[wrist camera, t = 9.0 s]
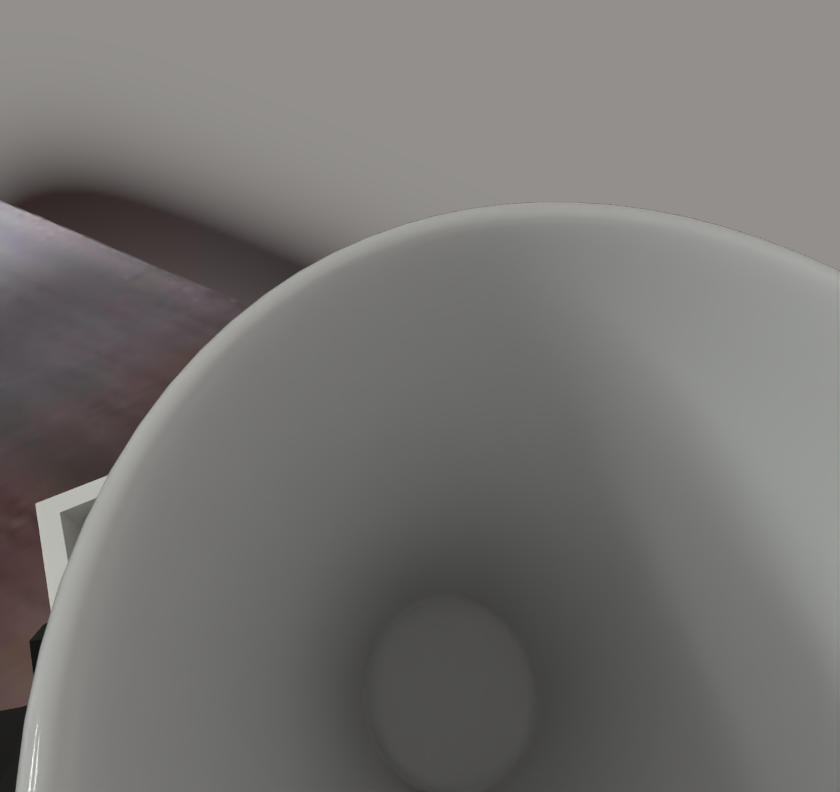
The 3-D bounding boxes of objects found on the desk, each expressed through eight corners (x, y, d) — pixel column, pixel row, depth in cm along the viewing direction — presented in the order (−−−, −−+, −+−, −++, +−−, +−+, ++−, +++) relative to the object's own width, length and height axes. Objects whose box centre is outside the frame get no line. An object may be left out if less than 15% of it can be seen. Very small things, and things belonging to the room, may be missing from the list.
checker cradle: (62, 519, 34) (29, 500, 31) (234, 450, 37) (219, 426, 34) (92, 698, 29) (57, 697, 26) (288, 601, 32) (277, 590, 29)
